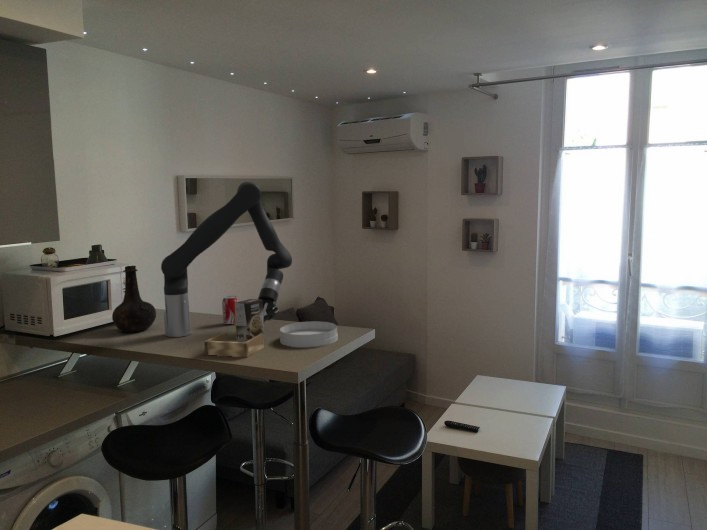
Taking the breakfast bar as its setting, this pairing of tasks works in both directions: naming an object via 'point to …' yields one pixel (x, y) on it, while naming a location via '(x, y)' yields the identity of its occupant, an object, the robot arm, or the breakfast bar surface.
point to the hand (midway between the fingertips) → (258, 328)
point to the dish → (308, 334)
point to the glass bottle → (133, 306)
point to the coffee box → (249, 319)
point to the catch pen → (233, 346)
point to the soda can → (229, 309)
